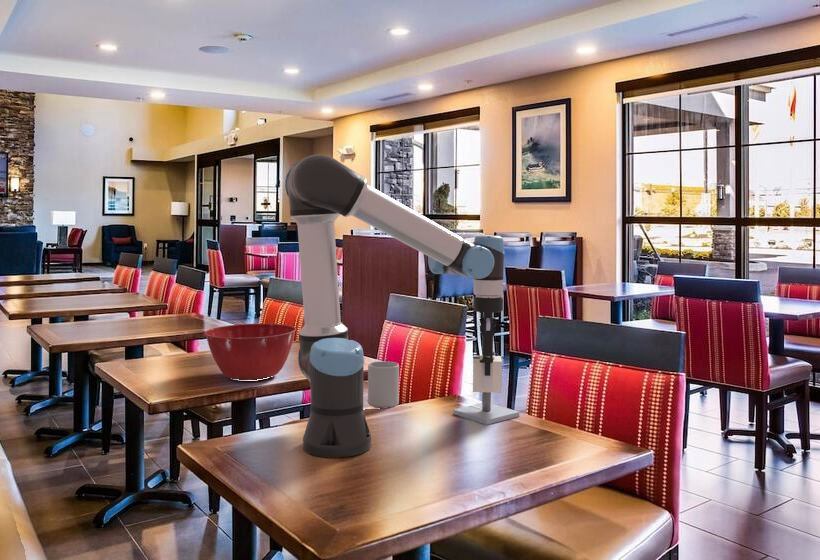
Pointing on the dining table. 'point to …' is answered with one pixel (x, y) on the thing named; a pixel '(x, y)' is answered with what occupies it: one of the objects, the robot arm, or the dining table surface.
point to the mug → (383, 384)
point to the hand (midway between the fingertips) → (487, 383)
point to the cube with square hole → (478, 375)
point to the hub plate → (486, 411)
